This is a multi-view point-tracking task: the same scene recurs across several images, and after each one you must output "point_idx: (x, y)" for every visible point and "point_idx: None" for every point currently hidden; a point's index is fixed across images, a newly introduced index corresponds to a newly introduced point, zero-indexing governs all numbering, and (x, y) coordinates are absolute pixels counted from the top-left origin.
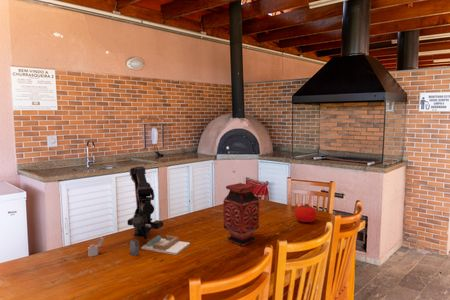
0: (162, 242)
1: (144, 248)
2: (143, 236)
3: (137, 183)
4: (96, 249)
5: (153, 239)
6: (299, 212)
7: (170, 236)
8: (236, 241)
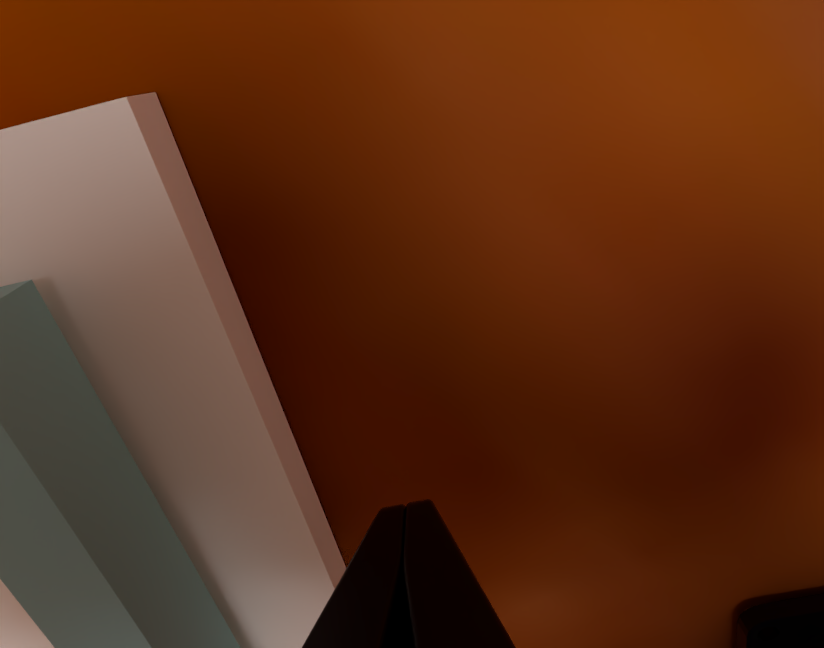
0: (24, 617)
1: (33, 125)
2: (457, 549)
3: None
4: None
5: (40, 579)
6: None
7: None
8: None
